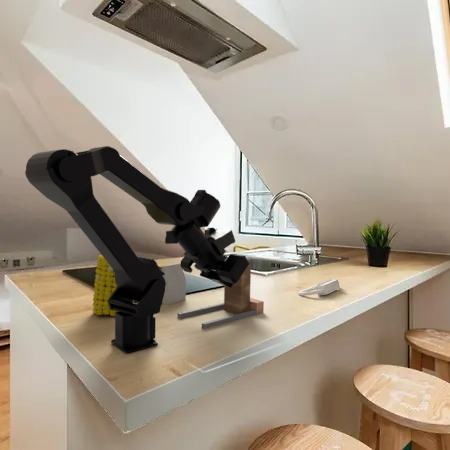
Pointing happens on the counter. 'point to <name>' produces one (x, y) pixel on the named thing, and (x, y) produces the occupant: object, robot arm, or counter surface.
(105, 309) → the food
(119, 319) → the robot arm
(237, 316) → the twin grey rails
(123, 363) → the counter surface
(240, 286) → the brown wooden tall block
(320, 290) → the oval loop handle
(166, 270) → the tea bag
